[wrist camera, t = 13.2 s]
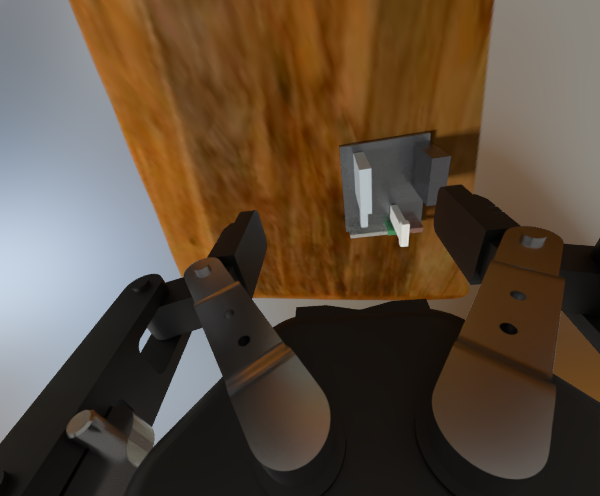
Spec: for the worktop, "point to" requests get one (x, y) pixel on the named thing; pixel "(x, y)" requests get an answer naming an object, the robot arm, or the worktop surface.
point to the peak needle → (400, 225)
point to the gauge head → (363, 186)
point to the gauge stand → (394, 181)
